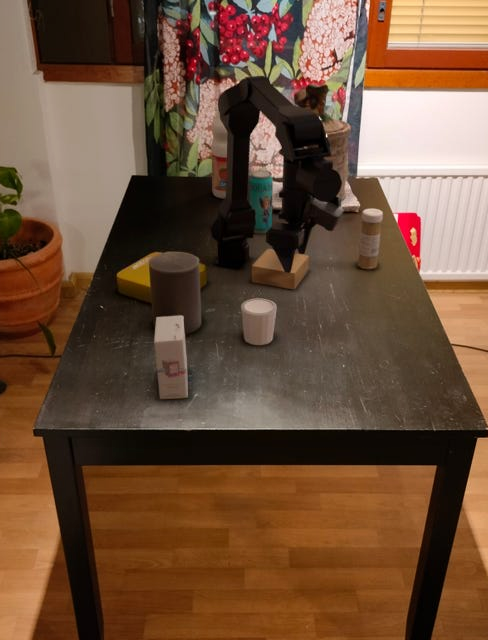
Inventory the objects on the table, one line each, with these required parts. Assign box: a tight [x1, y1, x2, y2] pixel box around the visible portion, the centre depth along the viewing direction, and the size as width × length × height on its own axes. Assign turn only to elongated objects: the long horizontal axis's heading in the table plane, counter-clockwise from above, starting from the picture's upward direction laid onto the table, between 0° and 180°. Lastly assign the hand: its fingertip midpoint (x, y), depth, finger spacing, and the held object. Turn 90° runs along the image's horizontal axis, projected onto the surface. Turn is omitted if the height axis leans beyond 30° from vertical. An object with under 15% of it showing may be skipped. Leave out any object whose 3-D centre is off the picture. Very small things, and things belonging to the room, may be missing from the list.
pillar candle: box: [149, 251, 202, 335], centre depth 139 cm, size 10×10×15 cm
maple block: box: [251, 248, 310, 290], centre depth 160 cm, size 10×10×4 cm
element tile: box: [116, 251, 208, 305], centre depth 155 cm, size 15×15×5 cm
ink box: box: [153, 315, 189, 400], centre depth 122 cm, size 8×5×12 cm, turn 5°
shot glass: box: [240, 297, 278, 346], centre depth 137 cm, size 7×7×7 cm
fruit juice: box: [210, 91, 227, 200], centre depth 199 cm, size 9×9×28 cm
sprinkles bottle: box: [357, 208, 384, 270], centre depth 163 cm, size 5×5×13 cm
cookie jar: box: [272, 83, 361, 213], centre depth 195 cm, size 25×25×32 cm
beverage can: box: [249, 169, 274, 235], centre depth 180 cm, size 6×6×15 cm
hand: (294, 262), depth 139 cm, fingers open, 9 cm apart
